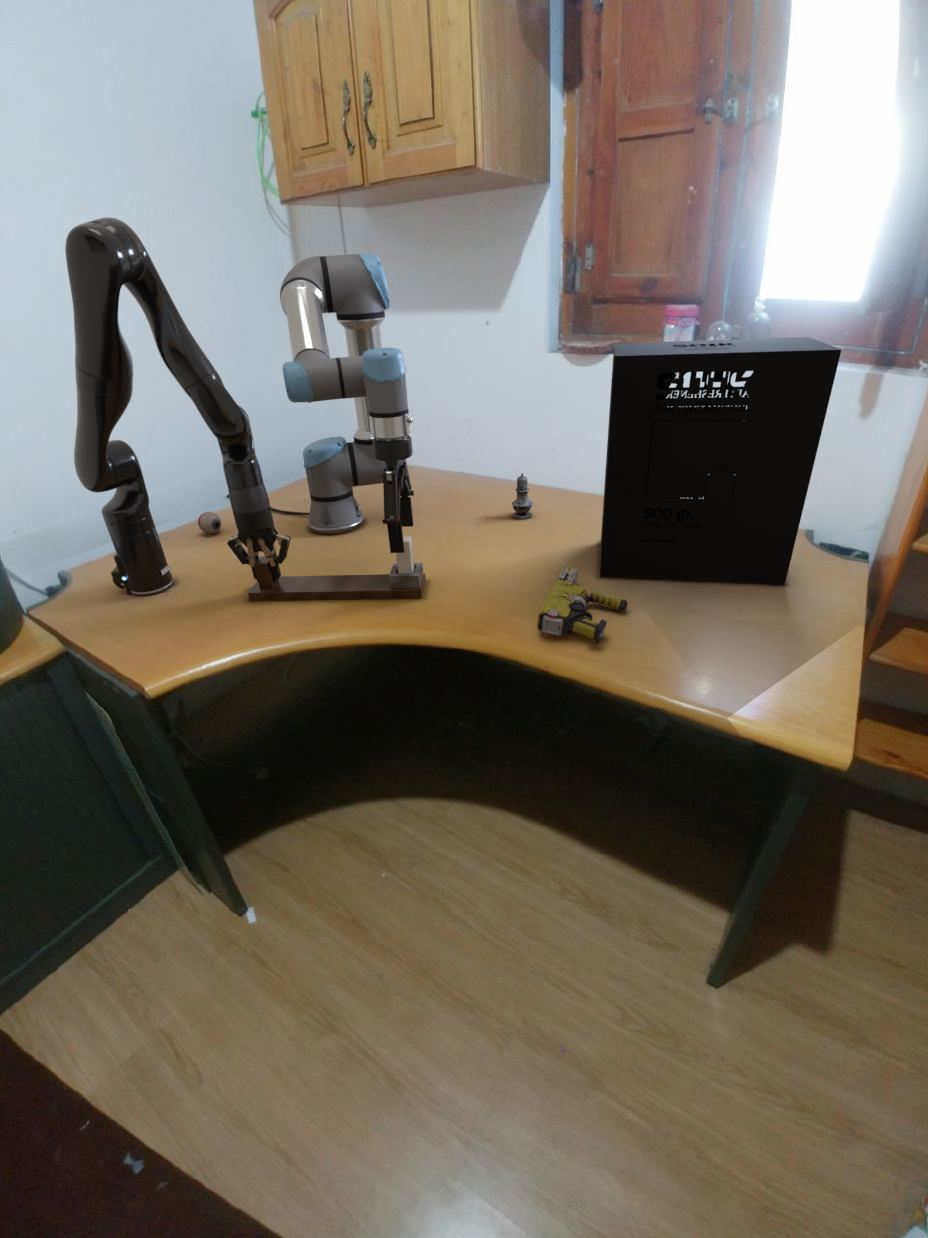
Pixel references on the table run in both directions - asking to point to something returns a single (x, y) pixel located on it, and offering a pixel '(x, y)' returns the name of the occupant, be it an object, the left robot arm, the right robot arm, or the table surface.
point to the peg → (406, 557)
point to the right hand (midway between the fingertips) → (402, 538)
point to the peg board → (336, 585)
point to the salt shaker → (522, 499)
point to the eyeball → (209, 522)
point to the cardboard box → (711, 457)
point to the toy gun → (574, 609)
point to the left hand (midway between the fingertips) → (268, 579)
